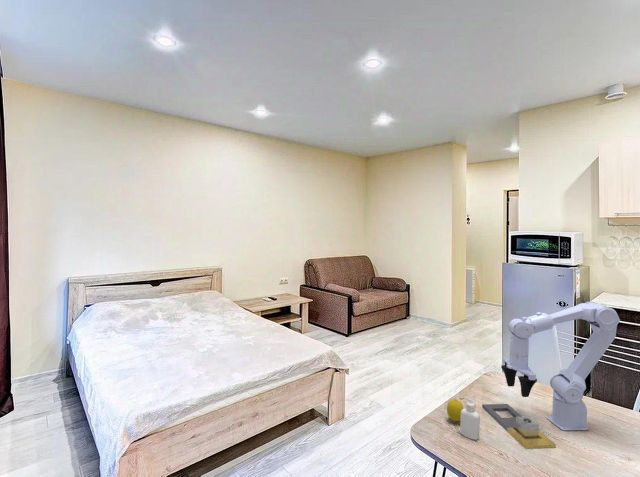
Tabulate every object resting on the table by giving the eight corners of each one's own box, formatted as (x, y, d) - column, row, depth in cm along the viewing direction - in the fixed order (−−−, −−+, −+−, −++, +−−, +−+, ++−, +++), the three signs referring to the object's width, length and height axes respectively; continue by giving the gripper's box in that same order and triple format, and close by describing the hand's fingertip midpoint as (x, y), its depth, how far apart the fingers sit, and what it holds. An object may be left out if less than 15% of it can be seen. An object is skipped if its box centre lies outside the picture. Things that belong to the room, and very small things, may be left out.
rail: (507, 406, 128) (507, 403, 128) (555, 447, 104) (555, 444, 104) (482, 407, 127) (482, 404, 127) (525, 448, 103) (525, 445, 103)
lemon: (465, 427, 114) (465, 404, 113) (448, 425, 115) (448, 402, 114) (461, 418, 119) (462, 396, 119) (445, 416, 120) (446, 394, 120)
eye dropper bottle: (468, 429, 112) (469, 394, 112) (481, 439, 107) (482, 402, 107) (458, 431, 111) (459, 396, 111) (470, 442, 106) (471, 404, 105)
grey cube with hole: (528, 431, 112) (529, 416, 112) (538, 439, 107) (538, 424, 107) (515, 431, 111) (516, 416, 111) (524, 440, 107) (525, 424, 107)
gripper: (495, 346, 126) (494, 382, 126) (522, 361, 111) (521, 401, 112) (513, 346, 126) (512, 381, 127) (542, 361, 112) (540, 401, 112)
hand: (517, 391), depth 119 cm, fingers open, 7 cm apart
